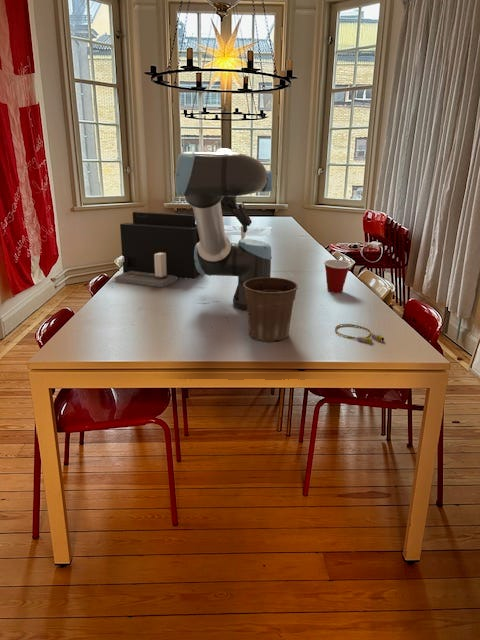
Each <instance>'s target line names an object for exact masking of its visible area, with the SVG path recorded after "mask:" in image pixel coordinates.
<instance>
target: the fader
mask: <svg viewBox="0 0 480 640" xmlns="http://www.w3.org/2000/svg"><path fill="white" fill-rule="evenodd" d="M154 262H155V276H154V278H158V279H162V278H164V277H166V276H167V272H166V253H161V252H159V253H156V254H154Z"/></svg>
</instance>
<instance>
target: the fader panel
mask: <svg viewBox="0 0 480 640" xmlns="http://www.w3.org/2000/svg"><path fill="white" fill-rule="evenodd" d="M154 276H155V274H154V273H145V272H137V271H129V272H126V273H124V272H123V273H121V274H118V275H117V276H114V280H115V282H116V283H123V284H124V283H126V284H131V285H132V284H133V285H141V286H148V285H149V287H156V286H157V287H158V288H164V287H165V288H166V287H167V286H169V285H171V284H173V283H175V282H177V281H176V280H178V278H177V276H172V275H167V276H166V277H164V278H162V279H158V278H154ZM174 281H175V282H174ZM172 282H173V283H172Z"/></svg>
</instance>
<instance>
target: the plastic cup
mask: <svg viewBox="0 0 480 640" xmlns="http://www.w3.org/2000/svg"><path fill="white" fill-rule="evenodd" d="M323 264H324V268H325V269H324V270H325V277H326V278H325V280H326V287H327V288H326V289H327V292H328V293H332V294H341V293H342V292H343V290H344V286H345V283H346V279H347V276H348V273H349V270H350V268H351V267H352V264H351V262H348V261H345V260H340V259H327V260H324V261H323Z"/></svg>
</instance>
